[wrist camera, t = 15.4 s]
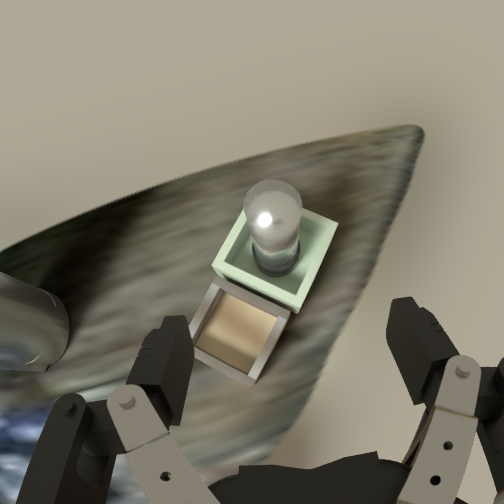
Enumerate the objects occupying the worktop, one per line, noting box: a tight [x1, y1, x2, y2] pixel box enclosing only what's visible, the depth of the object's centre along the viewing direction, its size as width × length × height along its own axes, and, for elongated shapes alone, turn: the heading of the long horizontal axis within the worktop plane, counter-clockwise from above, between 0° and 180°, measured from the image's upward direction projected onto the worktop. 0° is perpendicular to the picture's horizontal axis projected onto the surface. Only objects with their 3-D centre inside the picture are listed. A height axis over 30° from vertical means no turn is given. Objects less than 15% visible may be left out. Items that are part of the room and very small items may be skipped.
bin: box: [212, 208, 338, 314], centre depth 29 cm, size 9×9×4 cm
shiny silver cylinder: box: [244, 179, 302, 278], centre depth 25 cm, size 4×4×11 cm
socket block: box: [189, 276, 291, 388], centre depth 28 cm, size 7×7×3 cm
